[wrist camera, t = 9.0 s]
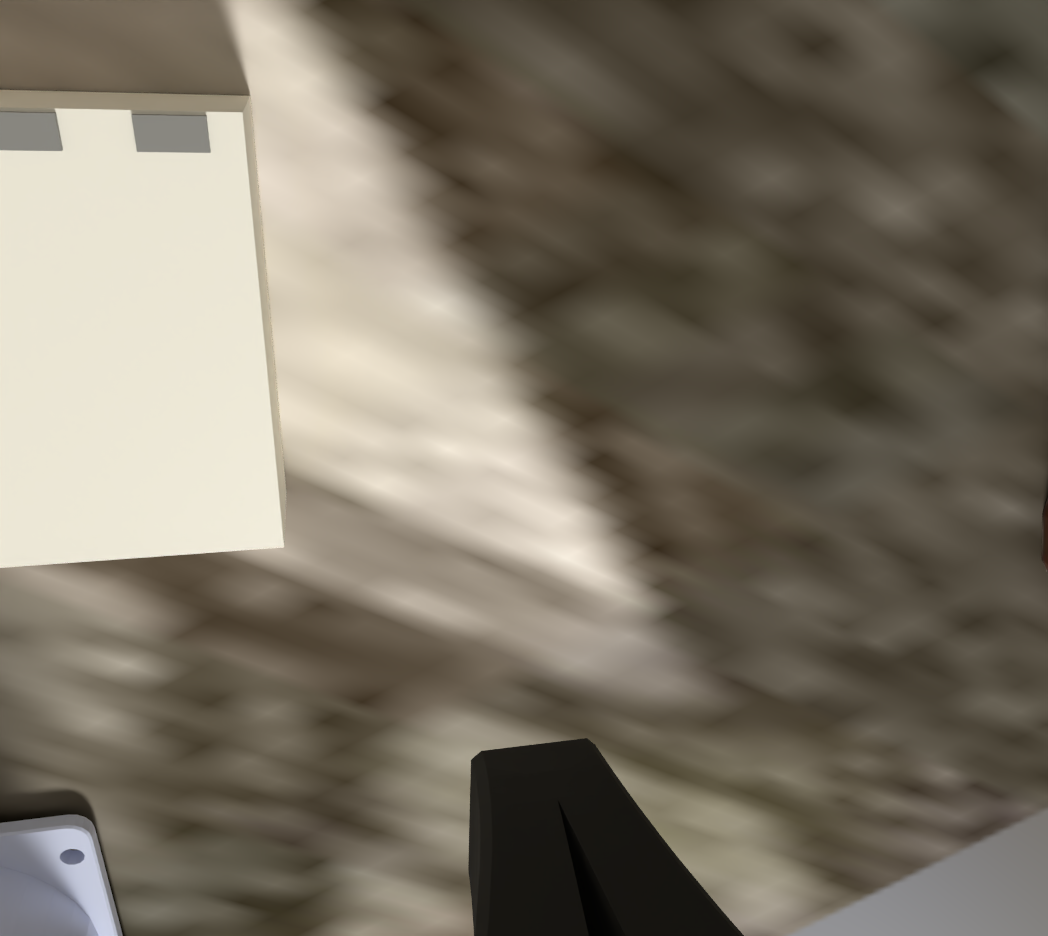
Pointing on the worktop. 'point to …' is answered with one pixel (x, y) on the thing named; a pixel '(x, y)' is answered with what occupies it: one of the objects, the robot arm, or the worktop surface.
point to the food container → (1045, 536)
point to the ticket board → (134, 330)
